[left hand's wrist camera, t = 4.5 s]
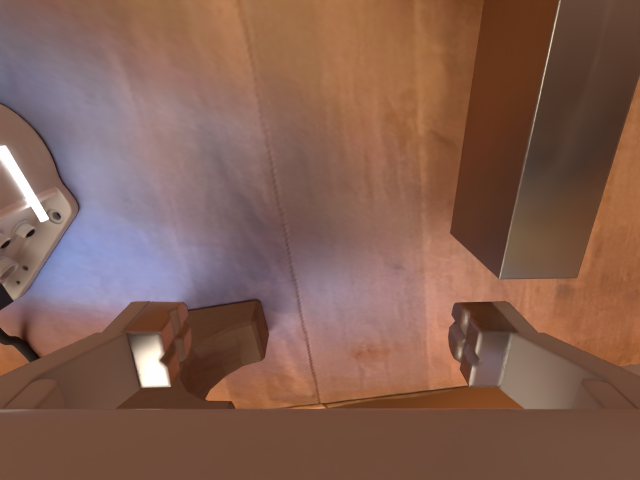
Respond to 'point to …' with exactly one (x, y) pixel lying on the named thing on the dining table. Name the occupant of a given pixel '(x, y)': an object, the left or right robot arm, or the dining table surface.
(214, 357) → the decorative block
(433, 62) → the dining table surface
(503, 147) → the bar
